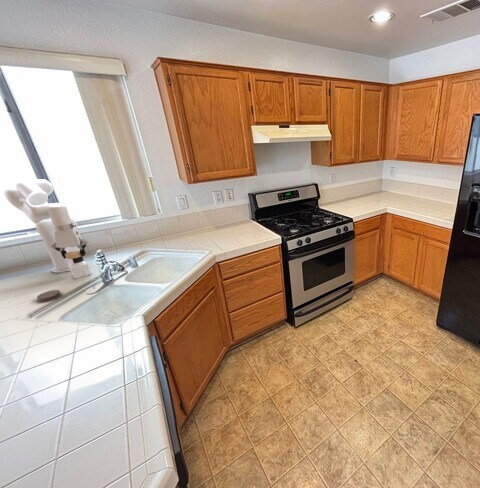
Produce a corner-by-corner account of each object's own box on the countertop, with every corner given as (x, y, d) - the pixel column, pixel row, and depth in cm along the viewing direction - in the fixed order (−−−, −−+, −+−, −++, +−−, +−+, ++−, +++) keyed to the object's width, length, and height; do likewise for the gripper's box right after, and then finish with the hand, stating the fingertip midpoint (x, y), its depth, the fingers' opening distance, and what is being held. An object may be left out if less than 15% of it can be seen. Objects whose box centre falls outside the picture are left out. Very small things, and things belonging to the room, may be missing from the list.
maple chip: (69, 255, 153) (68, 250, 152) (85, 253, 156) (84, 249, 155) (63, 259, 147) (61, 255, 146) (80, 257, 149) (78, 253, 148)
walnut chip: (44, 295, 134) (42, 291, 134) (64, 291, 137) (63, 288, 137) (34, 303, 127) (32, 300, 126) (56, 299, 130) (54, 296, 129)
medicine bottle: (88, 271, 160) (81, 253, 156) (90, 274, 156) (84, 256, 152) (72, 275, 155) (65, 256, 151) (75, 279, 151) (67, 260, 146)
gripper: (86, 223, 151) (96, 252, 157) (47, 227, 145) (59, 256, 151) (80, 227, 145) (90, 256, 151) (39, 231, 139) (52, 261, 145)
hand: (74, 256), depth 151 cm, fingers closed on maple chip, 7 cm apart
